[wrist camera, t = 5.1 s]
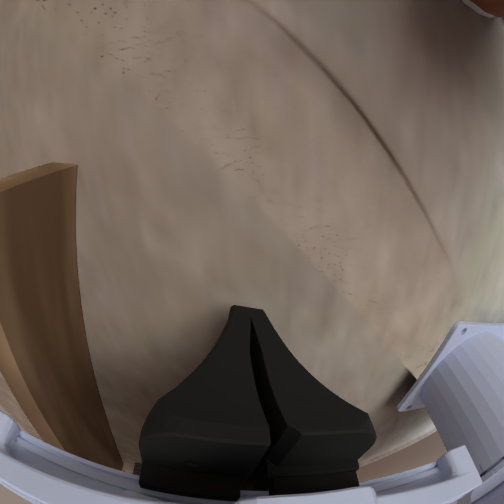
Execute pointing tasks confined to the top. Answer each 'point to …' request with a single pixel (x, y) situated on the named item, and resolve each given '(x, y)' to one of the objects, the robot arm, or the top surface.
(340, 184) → the top surface
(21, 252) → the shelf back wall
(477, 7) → the coffee cup
